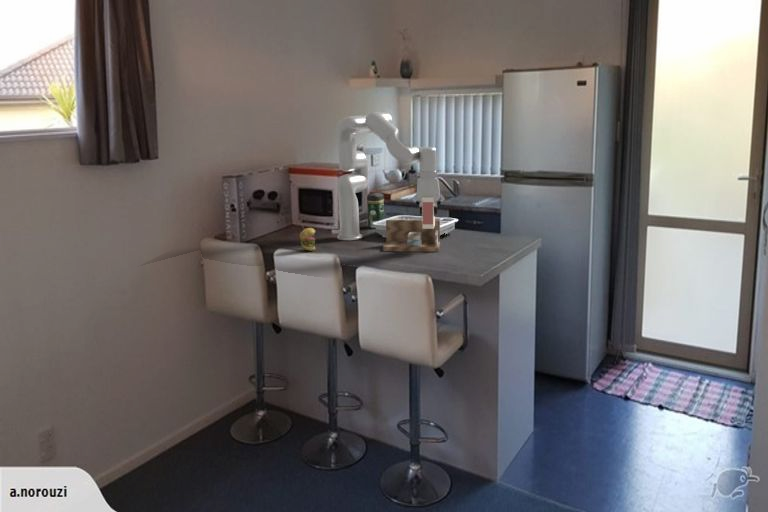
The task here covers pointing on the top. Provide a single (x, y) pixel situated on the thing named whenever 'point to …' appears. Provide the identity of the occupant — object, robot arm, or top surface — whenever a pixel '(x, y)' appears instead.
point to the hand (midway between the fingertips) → (428, 215)
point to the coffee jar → (375, 208)
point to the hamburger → (308, 239)
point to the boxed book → (428, 213)
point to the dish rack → (445, 223)
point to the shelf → (402, 236)
